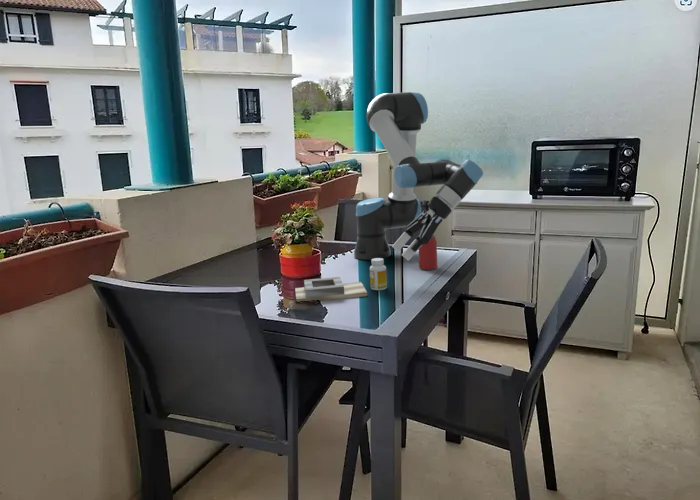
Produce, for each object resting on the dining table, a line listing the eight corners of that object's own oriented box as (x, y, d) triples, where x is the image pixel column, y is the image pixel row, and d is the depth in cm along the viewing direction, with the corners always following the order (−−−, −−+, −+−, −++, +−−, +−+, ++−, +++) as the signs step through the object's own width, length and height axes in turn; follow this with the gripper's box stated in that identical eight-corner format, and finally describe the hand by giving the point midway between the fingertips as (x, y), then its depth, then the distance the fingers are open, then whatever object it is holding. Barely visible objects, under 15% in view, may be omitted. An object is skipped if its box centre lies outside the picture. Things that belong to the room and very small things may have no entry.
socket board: (295, 291, 167) (294, 280, 166) (361, 285, 170) (360, 274, 169) (296, 302, 155) (295, 291, 155) (367, 295, 158) (366, 284, 157)
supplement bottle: (388, 286, 167) (387, 257, 165) (384, 291, 162) (383, 261, 160) (373, 285, 169) (371, 257, 167) (368, 290, 164) (367, 261, 162)
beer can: (436, 270, 182) (436, 237, 180) (418, 270, 184) (417, 238, 181) (437, 265, 189) (436, 234, 186) (419, 266, 190) (418, 234, 188)
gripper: (465, 215, 150) (418, 269, 151) (439, 205, 174) (399, 252, 176) (448, 199, 148) (400, 254, 150) (424, 191, 172) (383, 239, 174)
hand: (399, 253), depth 163 cm, fingers open, 13 cm apart
